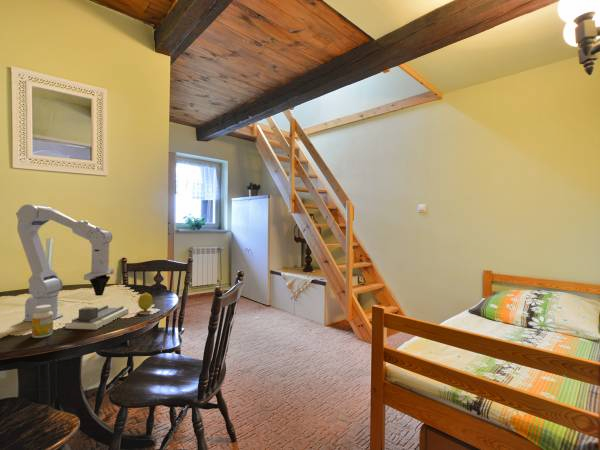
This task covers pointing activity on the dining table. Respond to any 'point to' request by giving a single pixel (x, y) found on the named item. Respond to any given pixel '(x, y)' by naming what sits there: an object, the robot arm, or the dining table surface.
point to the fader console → (98, 318)
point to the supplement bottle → (42, 321)
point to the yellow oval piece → (145, 301)
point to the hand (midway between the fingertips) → (99, 295)
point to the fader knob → (88, 313)
